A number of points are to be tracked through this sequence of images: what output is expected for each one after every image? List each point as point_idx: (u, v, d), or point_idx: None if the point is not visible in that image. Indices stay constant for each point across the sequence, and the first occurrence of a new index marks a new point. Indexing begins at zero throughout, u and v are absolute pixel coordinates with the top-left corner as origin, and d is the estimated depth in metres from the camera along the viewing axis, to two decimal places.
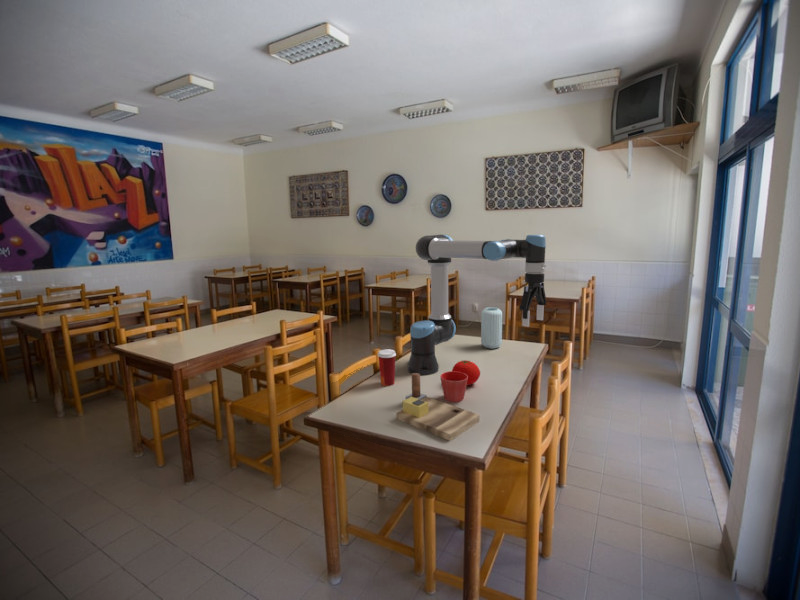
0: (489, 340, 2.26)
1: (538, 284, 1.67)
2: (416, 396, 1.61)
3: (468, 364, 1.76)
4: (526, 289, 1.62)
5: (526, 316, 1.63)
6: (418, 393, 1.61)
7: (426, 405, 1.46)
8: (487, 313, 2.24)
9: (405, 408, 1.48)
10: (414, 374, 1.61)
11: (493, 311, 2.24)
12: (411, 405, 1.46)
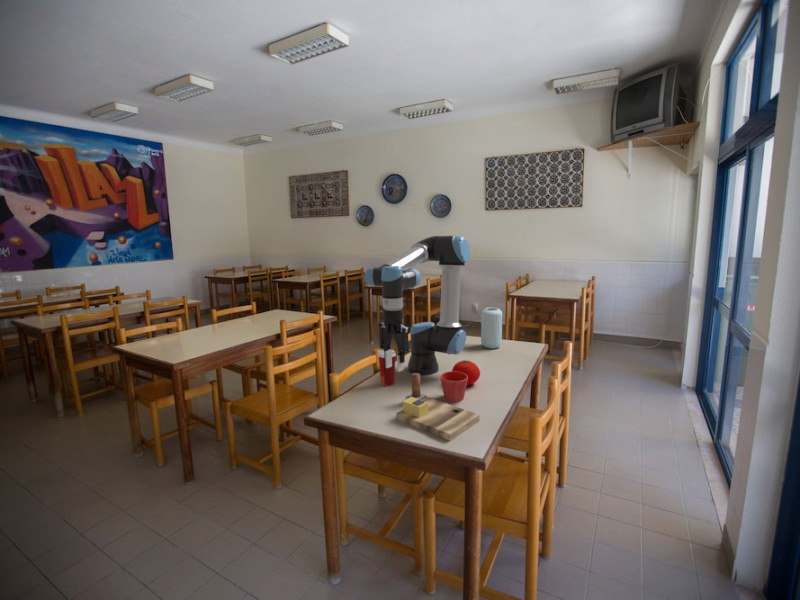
0: (489, 340, 2.26)
1: (395, 321, 1.47)
2: (416, 396, 1.61)
3: (468, 364, 1.76)
4: None
5: None
6: (418, 393, 1.61)
7: (426, 405, 1.46)
8: (487, 313, 2.24)
9: (405, 408, 1.48)
10: (414, 374, 1.61)
11: (493, 311, 2.24)
12: (411, 405, 1.46)
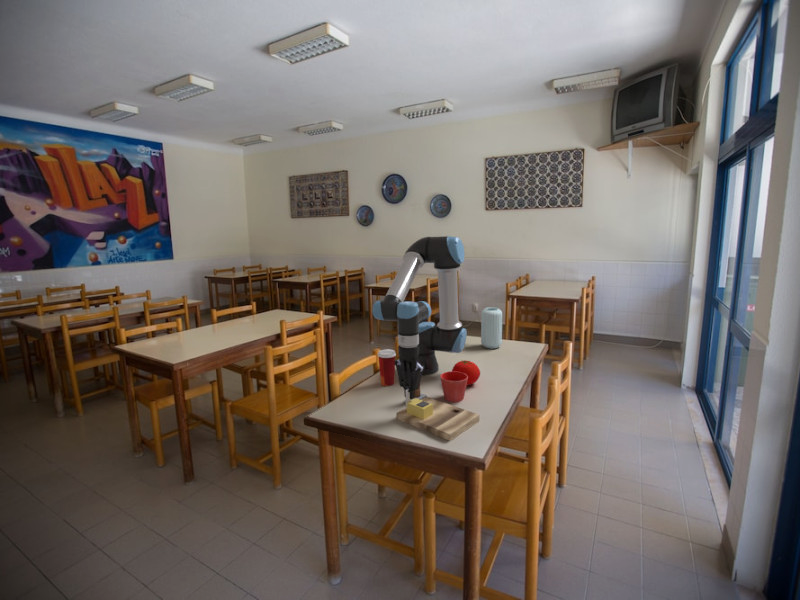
0: (489, 340, 2.26)
1: (411, 358, 1.44)
2: (416, 396, 1.61)
3: (468, 364, 1.76)
4: None
5: (405, 394, 1.49)
6: (418, 393, 1.61)
7: (430, 407, 1.45)
8: (487, 313, 2.24)
9: (409, 410, 1.47)
10: None
11: (493, 311, 2.24)
12: (415, 407, 1.44)
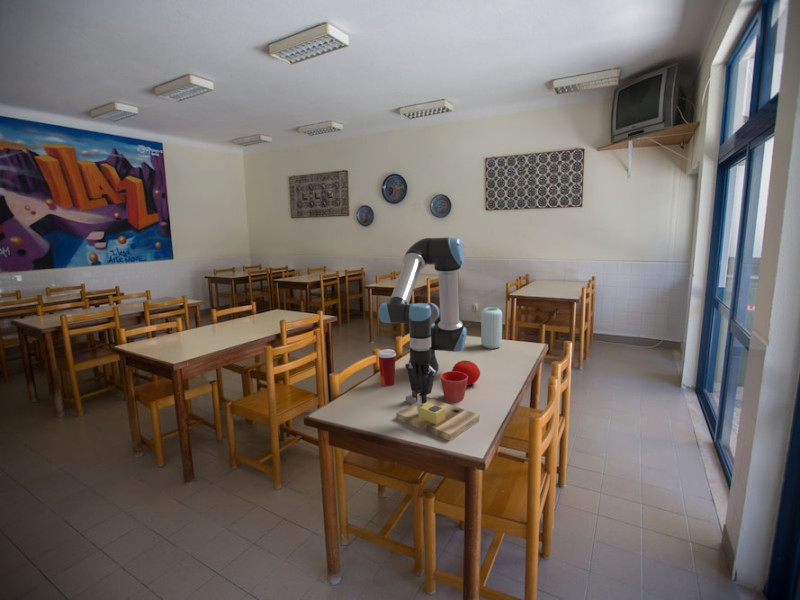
0: (489, 340, 2.26)
1: (423, 361, 1.40)
2: None
3: (468, 364, 1.76)
4: None
5: (417, 399, 1.46)
6: None
7: (443, 411, 1.41)
8: (487, 313, 2.24)
9: (421, 414, 1.43)
10: None
11: (493, 311, 2.24)
12: (427, 411, 1.41)
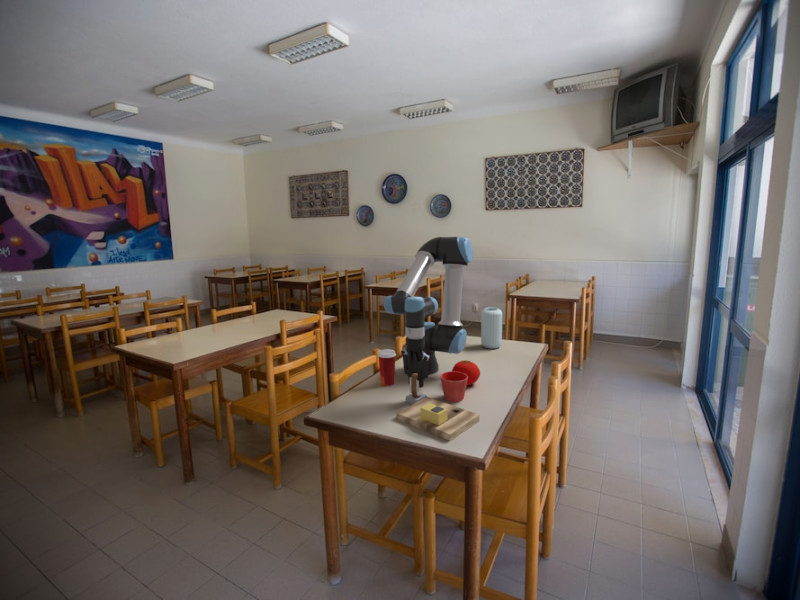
0: (489, 340, 2.26)
1: (417, 349, 1.56)
2: (416, 396, 1.60)
3: (468, 364, 1.76)
4: None
5: (409, 381, 1.63)
6: None
7: (445, 412, 1.40)
8: (487, 313, 2.24)
9: (423, 415, 1.42)
10: (414, 374, 1.61)
11: (493, 311, 2.24)
12: (430, 412, 1.40)
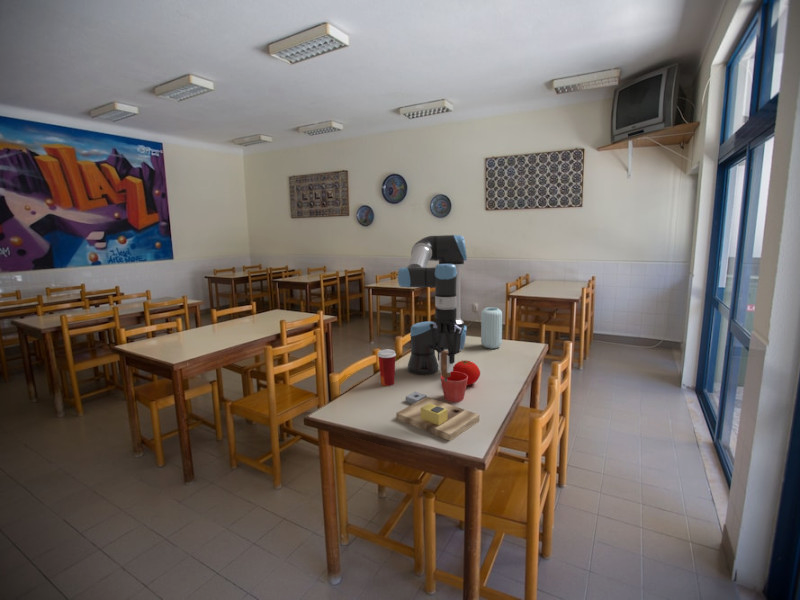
0: (489, 340, 2.26)
1: (448, 320, 1.43)
2: (446, 375, 1.47)
3: (468, 364, 1.76)
4: None
5: (438, 358, 1.49)
6: None
7: (445, 412, 1.40)
8: (487, 313, 2.24)
9: (423, 415, 1.42)
10: (444, 351, 1.47)
11: (493, 311, 2.24)
12: (430, 412, 1.40)
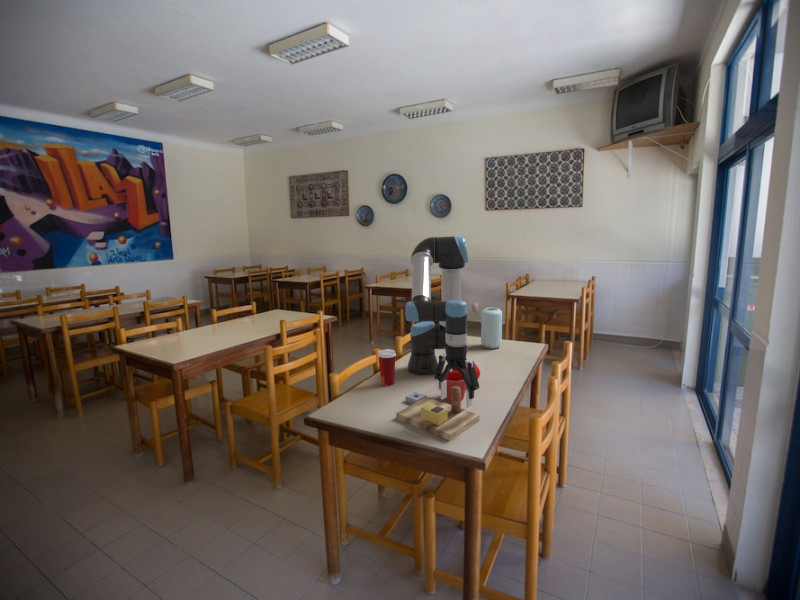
0: (489, 340, 2.26)
1: (458, 358, 1.43)
2: (456, 412, 1.47)
3: None
4: None
5: (440, 387, 1.51)
6: (459, 408, 1.47)
7: (445, 412, 1.40)
8: (487, 313, 2.24)
9: (423, 415, 1.42)
10: (454, 387, 1.47)
11: (493, 311, 2.24)
12: (430, 412, 1.40)
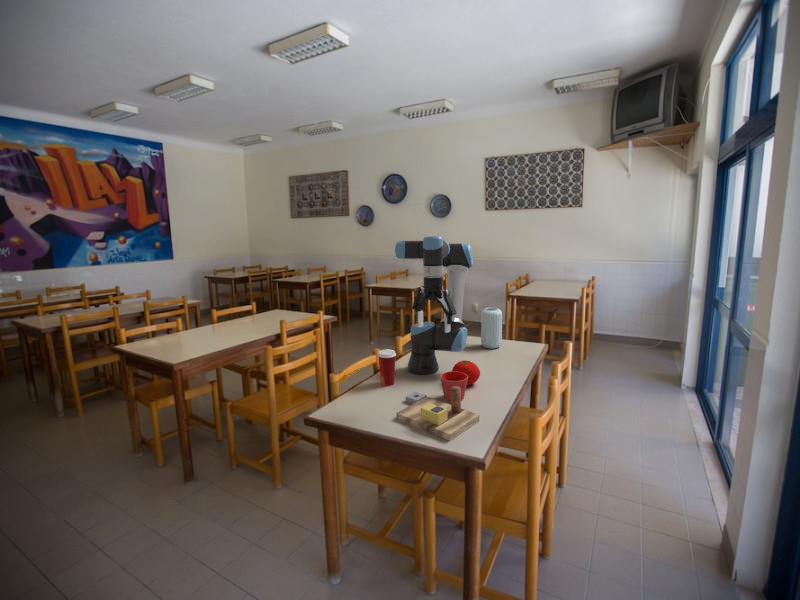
0: (489, 340, 2.26)
1: (434, 289, 1.56)
2: (456, 412, 1.47)
3: (468, 364, 1.76)
4: None
5: (417, 316, 1.65)
6: (459, 408, 1.47)
7: (445, 412, 1.40)
8: (487, 313, 2.24)
9: (423, 415, 1.42)
10: (454, 387, 1.47)
11: (493, 311, 2.24)
12: (430, 412, 1.40)
